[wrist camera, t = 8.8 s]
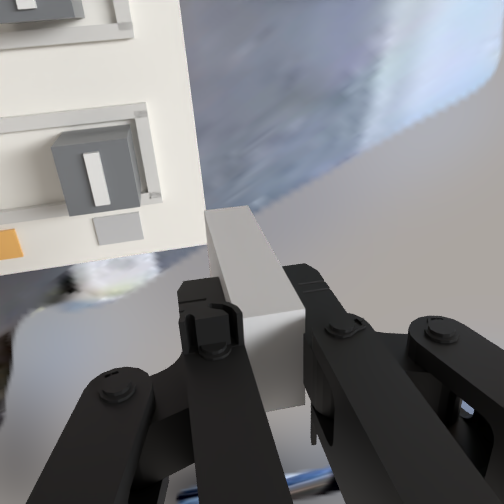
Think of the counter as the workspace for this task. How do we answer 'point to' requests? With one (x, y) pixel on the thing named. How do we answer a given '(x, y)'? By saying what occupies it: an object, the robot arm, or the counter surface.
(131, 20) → the switch board
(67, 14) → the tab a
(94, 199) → the grey cube
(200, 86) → the counter surface
